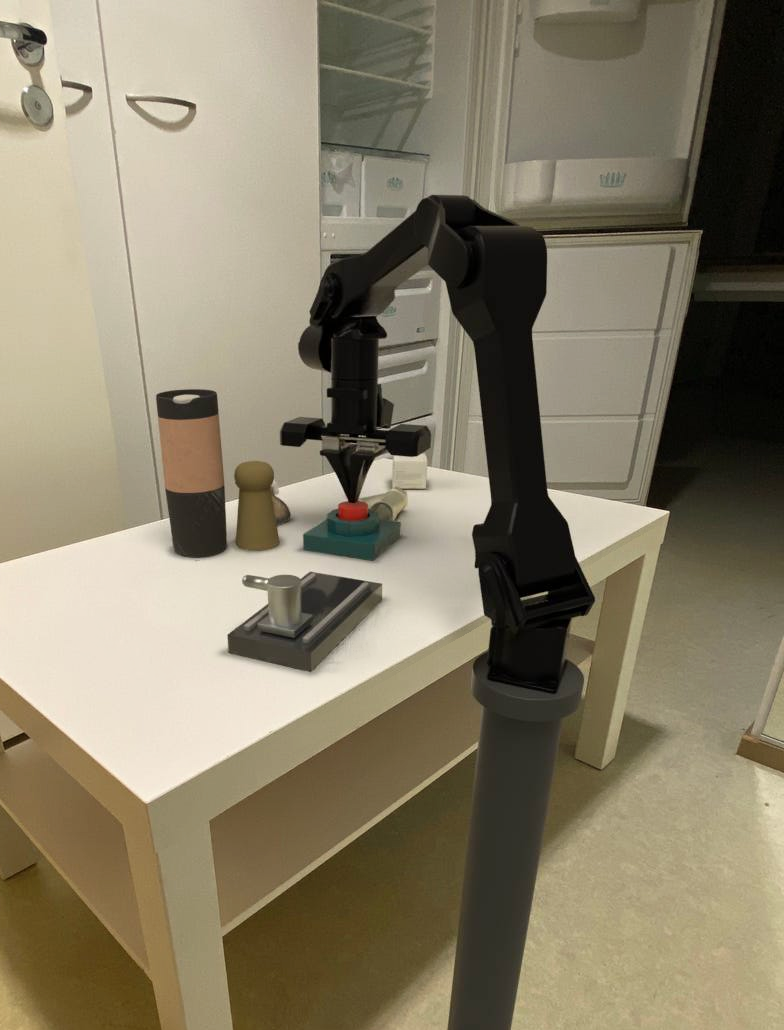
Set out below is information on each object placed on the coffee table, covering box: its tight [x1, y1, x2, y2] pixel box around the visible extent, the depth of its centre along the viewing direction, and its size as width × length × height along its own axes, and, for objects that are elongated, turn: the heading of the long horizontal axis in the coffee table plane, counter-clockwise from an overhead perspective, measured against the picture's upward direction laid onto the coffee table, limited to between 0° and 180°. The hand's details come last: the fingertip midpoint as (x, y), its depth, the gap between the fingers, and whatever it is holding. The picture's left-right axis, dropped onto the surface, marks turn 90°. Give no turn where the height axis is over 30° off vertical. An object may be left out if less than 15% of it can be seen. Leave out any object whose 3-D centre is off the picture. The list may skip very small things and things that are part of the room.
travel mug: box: [155, 388, 228, 558], centre depth 93 cm, size 8×8×20 cm
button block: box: [302, 508, 402, 561], centre depth 98 cm, size 10×10×4 cm
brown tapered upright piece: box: [233, 460, 281, 551], centre depth 97 cm, size 6×6×11 cm
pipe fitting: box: [358, 486, 409, 521], centre depth 108 cm, size 8×4×7 cm
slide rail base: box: [226, 571, 383, 672], centre depth 76 cm, size 9×18×2 cm, turn 153°
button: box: [337, 500, 368, 520], centre depth 96 cm, size 4×4×2 cm
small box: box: [391, 453, 428, 490], centre depth 123 cm, size 6×6×5 cm
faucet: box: [241, 574, 313, 638], centre depth 70 cm, size 7×4×5 cm, turn 63°
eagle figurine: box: [234, 479, 292, 526], centre depth 109 cm, size 8×7×9 cm
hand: (353, 502), depth 96 cm, fingers closed
